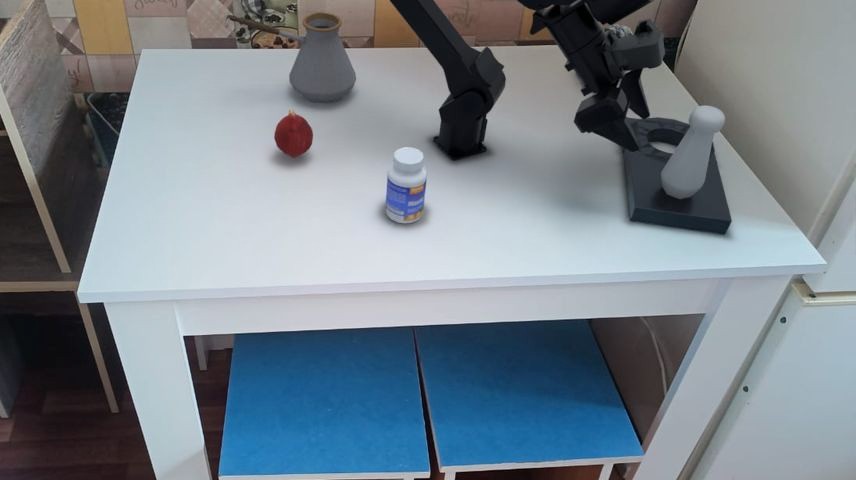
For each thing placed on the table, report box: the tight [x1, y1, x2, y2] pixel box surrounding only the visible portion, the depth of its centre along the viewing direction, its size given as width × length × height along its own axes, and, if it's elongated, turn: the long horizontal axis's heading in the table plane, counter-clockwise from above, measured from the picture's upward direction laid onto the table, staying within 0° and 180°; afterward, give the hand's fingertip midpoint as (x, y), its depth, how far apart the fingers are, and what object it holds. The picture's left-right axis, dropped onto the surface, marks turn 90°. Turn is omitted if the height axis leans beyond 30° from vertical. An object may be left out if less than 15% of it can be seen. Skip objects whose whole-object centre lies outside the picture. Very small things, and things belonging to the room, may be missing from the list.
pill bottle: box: [384, 146, 428, 224], centre depth 101 cm, size 5×5×10 cm
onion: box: [273, 109, 314, 158], centre depth 110 cm, size 6×6×8 cm
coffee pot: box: [224, 11, 357, 104], centre depth 121 cm, size 21×12×15 cm, turn 102°
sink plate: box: [621, 116, 733, 235], centre depth 111 cm, size 25×13×2 cm, turn 168°
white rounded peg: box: [661, 105, 726, 199], centre depth 101 cm, size 6×6×13 cm
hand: (641, 133), depth 102 cm, fingers open, 9 cm apart
